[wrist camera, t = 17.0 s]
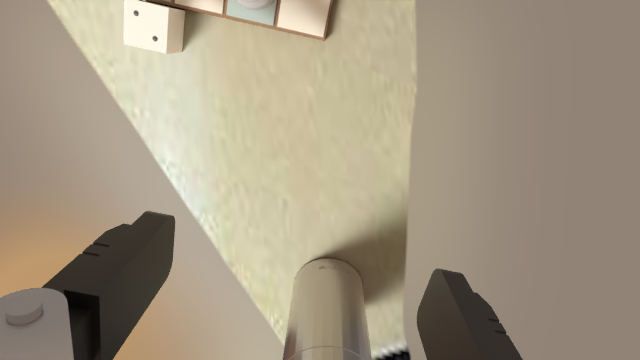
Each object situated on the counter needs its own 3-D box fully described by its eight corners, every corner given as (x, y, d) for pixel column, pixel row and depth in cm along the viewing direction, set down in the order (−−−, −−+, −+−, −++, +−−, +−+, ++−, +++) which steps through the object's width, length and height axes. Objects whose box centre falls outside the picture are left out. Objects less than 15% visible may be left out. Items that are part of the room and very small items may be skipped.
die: (182, 51, 37) (165, 53, 34) (144, 43, 37) (122, 43, 33) (185, 9, 36) (168, 6, 32) (145, 0, 36) (123, -5, 32)
